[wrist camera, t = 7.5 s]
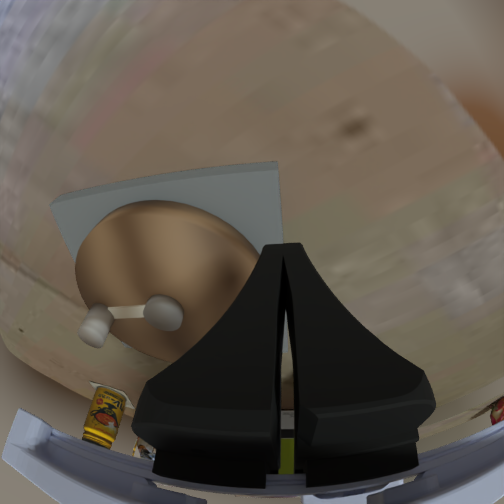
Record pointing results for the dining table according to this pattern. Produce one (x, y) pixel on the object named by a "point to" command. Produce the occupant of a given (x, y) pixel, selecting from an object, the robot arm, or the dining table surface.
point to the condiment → (105, 415)
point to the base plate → (188, 192)
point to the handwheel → (160, 276)
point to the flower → (497, 412)
